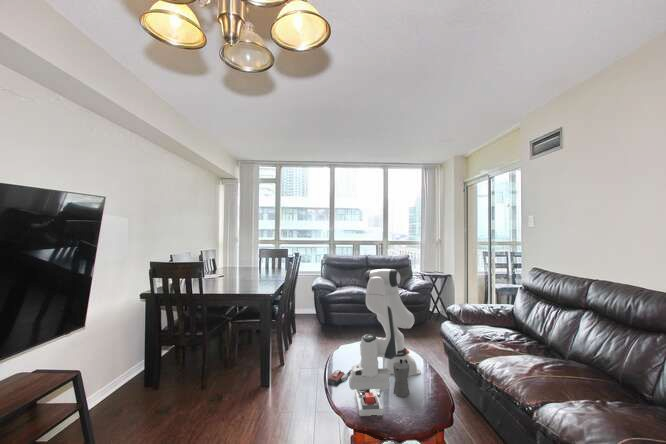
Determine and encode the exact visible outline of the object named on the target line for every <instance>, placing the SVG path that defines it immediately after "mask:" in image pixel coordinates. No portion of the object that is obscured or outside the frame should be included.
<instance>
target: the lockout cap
mask: <svg viewBox="0 0 666 444" xmlns="http://www.w3.org/2000/svg"><path fill="white" fill-rule="evenodd" d="M365 404H374V395H373V392H372V393H365Z"/></svg>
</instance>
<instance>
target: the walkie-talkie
mask: <svg viewBox="0 0 666 444" xmlns="http://www.w3.org/2000/svg"><path fill="white" fill-rule="evenodd" d="M351 372H352V369H349V371H348V372H347V373H345V372H344V371H341V370H339V369H337V370H335V371H334V372H332V374H330V376H329V377H327V384H330V385H334V386H338V385H339V384H340V382H345V381H346V380H347V379H349V376H350V374H351Z"/></svg>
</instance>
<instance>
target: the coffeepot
mask: <svg viewBox="0 0 666 444" xmlns="http://www.w3.org/2000/svg"><path fill="white" fill-rule="evenodd" d="M402 361H403V362H402ZM393 368H394V384H393V395H395V394H396V396H397V397H402V398H407V397H409V396H410V393H411V392H410V388H409V383H408V382H409V381H408V379H409V376H408V375H409V368H410V367H409V364H408V362H407V360H406V359H405V360H402V359H400V362H395V363H393ZM408 395H409V396H408ZM406 396H407V397H406Z"/></svg>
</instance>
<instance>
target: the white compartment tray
mask: <svg viewBox="0 0 666 444" xmlns="http://www.w3.org/2000/svg"><path fill="white" fill-rule="evenodd" d="M376 390H377V389H370V391H369V393H372V392H373V395H374V404H365V395H364V393H365V389H360V391H359V392H360V393H362V398H359V395H358V393H357V390H354V395H355V401H356V405H357V409H358V413H359V414H358V415H359V417H366V416H367V417H369V416H370V417H371V415H377V416H383V407H382V404H381V402H380V399H379V398H380V397H377V391H376Z"/></svg>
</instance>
